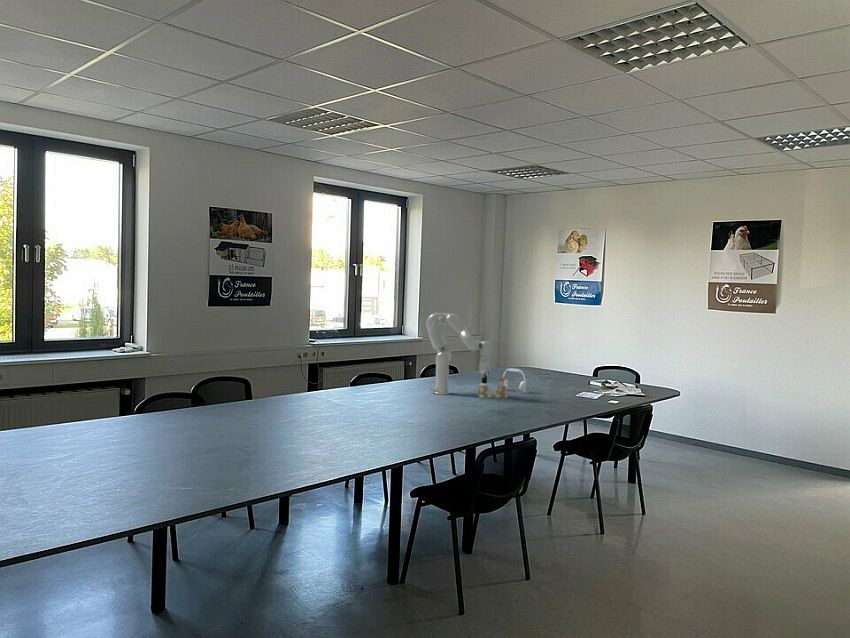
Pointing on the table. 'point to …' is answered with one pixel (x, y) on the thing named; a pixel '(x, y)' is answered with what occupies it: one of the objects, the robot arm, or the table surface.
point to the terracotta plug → (501, 381)
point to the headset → (522, 384)
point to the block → (484, 393)
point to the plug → (483, 384)
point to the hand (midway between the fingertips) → (484, 383)
